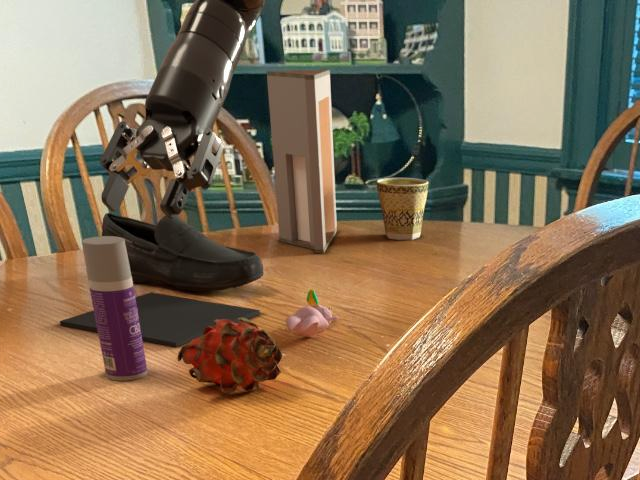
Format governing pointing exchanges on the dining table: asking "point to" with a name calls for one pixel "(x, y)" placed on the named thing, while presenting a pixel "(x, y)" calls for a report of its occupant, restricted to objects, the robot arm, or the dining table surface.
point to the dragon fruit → (233, 355)
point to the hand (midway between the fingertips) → (137, 210)
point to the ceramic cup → (402, 206)
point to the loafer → (181, 255)
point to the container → (115, 307)
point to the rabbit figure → (311, 317)
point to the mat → (171, 318)
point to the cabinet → (303, 156)
